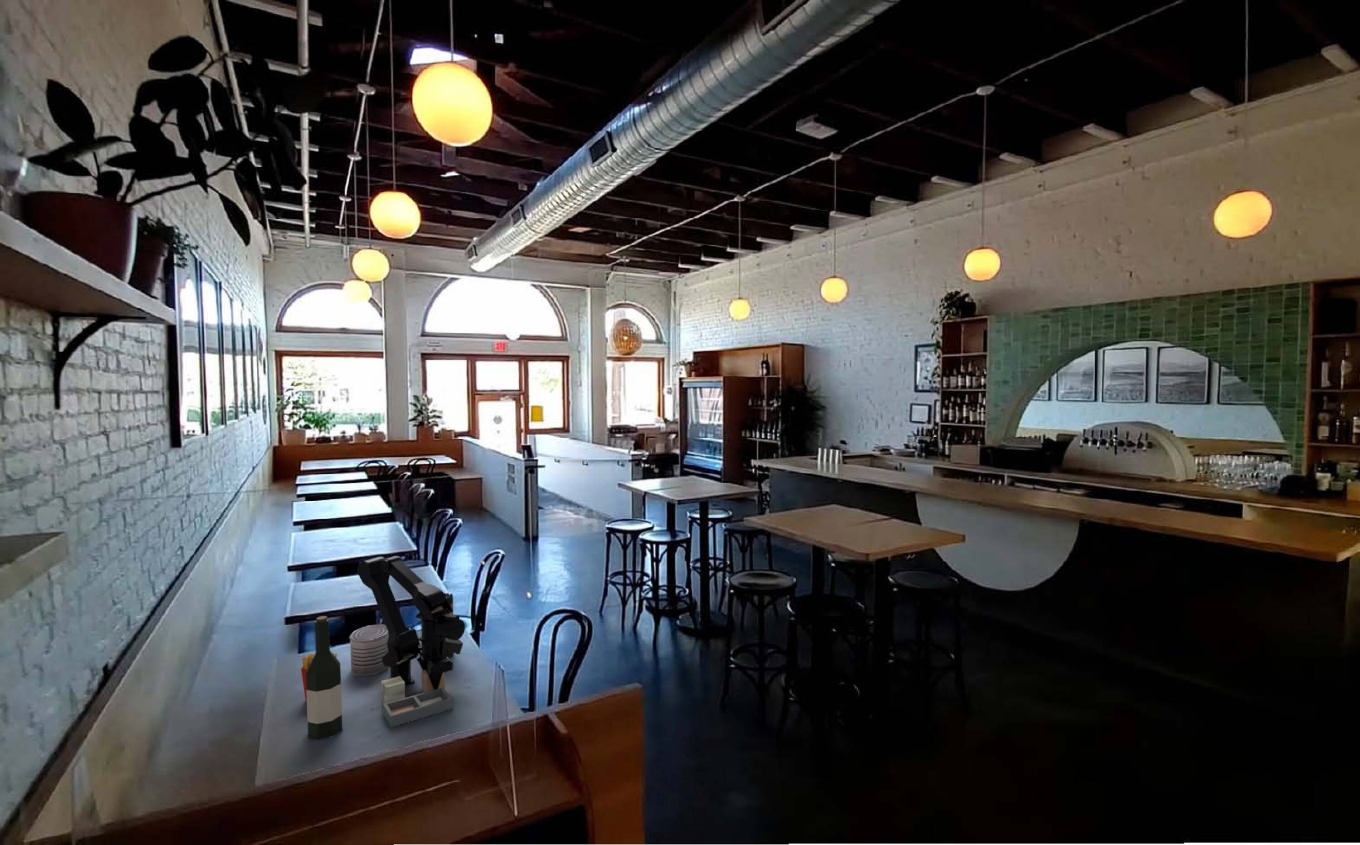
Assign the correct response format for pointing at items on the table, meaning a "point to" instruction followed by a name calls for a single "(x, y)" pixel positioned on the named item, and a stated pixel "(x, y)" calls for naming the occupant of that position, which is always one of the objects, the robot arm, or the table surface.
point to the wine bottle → (323, 687)
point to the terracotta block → (427, 684)
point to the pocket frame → (417, 706)
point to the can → (368, 649)
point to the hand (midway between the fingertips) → (433, 685)
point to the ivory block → (393, 689)
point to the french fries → (303, 670)
